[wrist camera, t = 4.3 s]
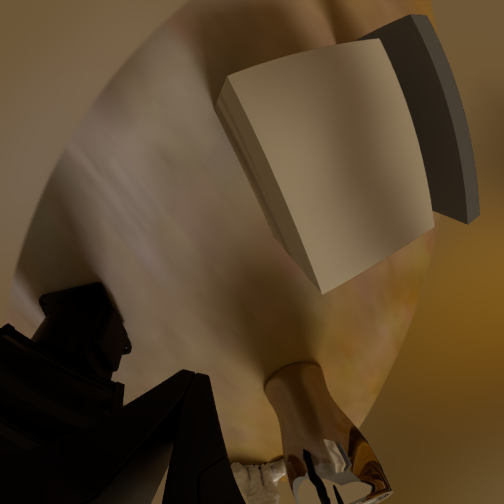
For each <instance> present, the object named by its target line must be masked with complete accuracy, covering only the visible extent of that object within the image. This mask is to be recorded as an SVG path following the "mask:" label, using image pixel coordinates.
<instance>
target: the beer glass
mask: <svg viewBox="0 0 504 504" xmlns="http://www.w3.org/2000/svg"><path fill="white" fill-rule="evenodd" d="M265 394H266V397H267V399H268V401H269V402H270V404H271V405H272V407H273V409H274V411H275V413H276V415H277V418H278V421H279V425H280V431H281V439H282V449H283V458H284V464H285V470H286V475H287V479H288V482H289V486H290V489H291V491H292V494H293V496H294V499H295V502H296V504H378V503H379V502H381V501H383V500H384V499H385V498H387V497H389V496H390V495H391V494H392V493H393V491H392V489H391V487H390V485H389V482H388V480H387V478H386V475H385V473H384V471H383V468H382V466H381V464H380V462H379V460H378V458H377V456H376V454H375V452H374V451H373V449H372V448H371V446H370V444H369V443H368V441H367V440H366V438H365V437H364V436H363V435H362V433H361V432H360V431H359V429H358V428H357V427H356V426H355V425H354V424H353V422H352V421H351V420H350V419H349V418H348V417H347V416H346V414H345V413H344V412H343V411H342V410H341V409H340V408H339V406H338V405H337V404H336V403H335V401H334V400H333V398H332V397H331V395H330V393H329V391H328V388H327V385H326V382H325V378H324V374H323V371H322V369H321V368H320V367H319V366H318V365H316V364H314V363H309V362H301V363H295V364H291V365H288V366H286V367H284V368H282V369H280V370H279V371H277V372H276V373H274V374H273V375H272V376H271V377H270V378H269V380H268V381H267V383H266V385H265Z"/></svg>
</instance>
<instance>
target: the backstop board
mask: <svg viewBox="0 0 504 504" xmlns="http://www.w3.org/2000/svg"><path fill="white" fill-rule="evenodd" d="M370 39H380V41H381V43H382V45H383V47H384V49H385V51H386V53H387V56H388V58H389V60H390V62H391V65H392V67H393V69H394V72H395V74H396V77H397V79H398V82H399V84H400V87H401V89H402V92H403V95H404V98H405V100H406V103H407V106H408V109H409V112H410V115H411V118H412V122H413V125H414V128H415V132H416V135H417V139H418V143H419V147H420V151H421V155H422V159H423V163H424V168H425V172H426V177H427V182H428V188H429V193H430V199H431V206H432V211H435V212H438V213H440V214H443V215H445V216H448V217H450V218H453V219H456V220H458V221H460V222H463V223H465V224H467V225H468V224H469V223H471V222H472V221H473V220H474V219H475V218H476V217H478V216H479V215H480V208H479V194H478V184H477V175H476V168H475V161H474V154H473V149H472V144H471V138H470V134H469V129H468V124H467V121H466V116H465V112H464V109H463V105H462V101H461V98H460V95H459V91H458V88H457V85H456V82H455V79H454V76H453V74H452V71H451V68H450V65H449V63H448V60H447V58H446V56H445V53H444V50H443V48H442V46H441V43H440V41H439V39H438V37H437V35H436V33H435V31H434V28H433V26H432V24H431V22H430V20H429V19H428V17H427V15H414V14H410V15H407V16H405V17H403V18H400V19H398V20H396V21H394V22H392V23H389V24H387V25H385V26H383V27H381V28H379V29H377V30H375V31H373V32H371V33H369V34H367V35H365V36H363V37H361V38H359V39H358V40H356V41H362V40H370ZM354 42H355V41H354Z"/></svg>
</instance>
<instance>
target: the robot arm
mask: <svg viewBox="0 0 504 504" xmlns="http://www.w3.org/2000/svg"><path fill="white" fill-rule="evenodd" d="M95 288H98V289H99V290H100V291H97V290H96V289H95ZM43 300H44V301H45V302H46V303H45V302H44V301H43ZM39 304H40V306H41V308H42V310H43V312H44V314H45V316H46V318H45V319H44V320H43V322H42V323H41V325H40V326H39V328H38V329H37V331H36V332H35V334H34V335H33V337H32V338H31V339H29V338H28V337H26V336H24V335H23V334H21V333H20V332H18V331H17V330H15V328H14V327H13V326H12V325H10V324H9V323H8V324H6V325H5V326H3V327H2V328H0V504H151V502H152V500H153V498H154V496H155V494H156V492H157V489H158V487H159V485H160V483H161V481H162V479H163V476H164V474H165V472H166V470H167V467H168V465H169V468H168V474H167V479H166V484H165V489H164V495H163V500H162V504H246V503H245V501H244V499H243V497H242V495H241V493H240V490H239V488H238V486H237V483H236V481H235V478H234V475H233V472H232V469H231V465H230V462H229V458H228V457H227V456H228V455H227V451H226V447H225V443H224V439H223V435H222V431H221V427H220V423H219V419H218V414H217V410H216V406H215V401H214V397H213V392H212V387H211V382H210V378H209V376H208V375H206V374H201V373H196V374H195V372H193V371H189V370H185V369H182V370H180V371H179V372H177V373H176V374H174V375H173V376H171V377H170V378H168V379H167V380H165V381H164V382H162V383H160V384H159V385H157V386H156V387H154V388H153V389H151V390H149V391H148V392H146V393H145V394H143V395H141V396H140V397H138V398H137V399H135V400H133V401H132V402H130V403H128V404H127V405H125V406H123V397H124V387H125V384H122V383H120V382H114V381H111V377H112V374H113V372H115V371H117V370H118V368H119V364H120V360H121V357H122V355H124V354H129V353H130V352H131V349H132V346H131V344H130V342H129V340H128V338H127V335H128V334H127V332H126V330H125V328H124V326H123V324H122V322H121V319H120V317H119V315H118V313H117V311H116V309H115V308H114V307H112V304H111V302H110V300H109V298H108V295H107V293H106V290H105V288H104V286H103V285H102V284H101V283H99V282H95V283H90V284H86V285H82V286H78V287H74V288H69V289H65V290H61V291H57V292H53V293H49V294H45V295H42V296H41V297H40V298H39ZM124 347H126V348H128V349H126V348H124Z"/></svg>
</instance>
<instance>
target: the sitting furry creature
mask: <svg viewBox="0 0 504 504" xmlns="http://www.w3.org/2000/svg"><path fill="white" fill-rule="evenodd" d="M258 467H261V470H259V469H258ZM231 469H232V472H233V475H234V478H235V479H236V481H237V483H238V486H239V487H240V488H241V490H242V491H243V493H244V494H245V495H246V496H247V499H248V503H249V504H279V501H278V500H279V495H280V492H279V491H278V490H276V485H277V484H278V483H277V481H278V480H279V479H280V478H281V477H282V476H284V475H285V474H286V470H285V464H284V458H282V459H280V460H279V461H277V462H272V463H266V465H264V463H263V464H261V465H257V464H255V466H253V464H252V465H243V466H242V465H241V464H240V463H238V462H236V463H235V462H233V464H232V465H231ZM247 469H248V470H247Z"/></svg>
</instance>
